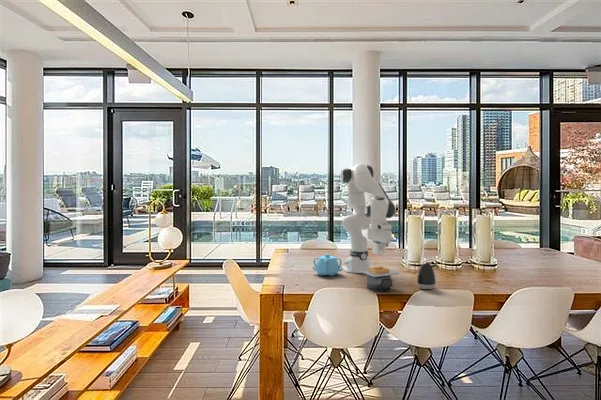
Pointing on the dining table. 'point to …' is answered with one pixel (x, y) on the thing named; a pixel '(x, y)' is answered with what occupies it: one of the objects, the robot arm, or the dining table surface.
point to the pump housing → (378, 248)
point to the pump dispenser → (426, 276)
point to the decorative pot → (327, 265)
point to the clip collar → (378, 269)
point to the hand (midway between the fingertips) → (378, 249)
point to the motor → (379, 280)
